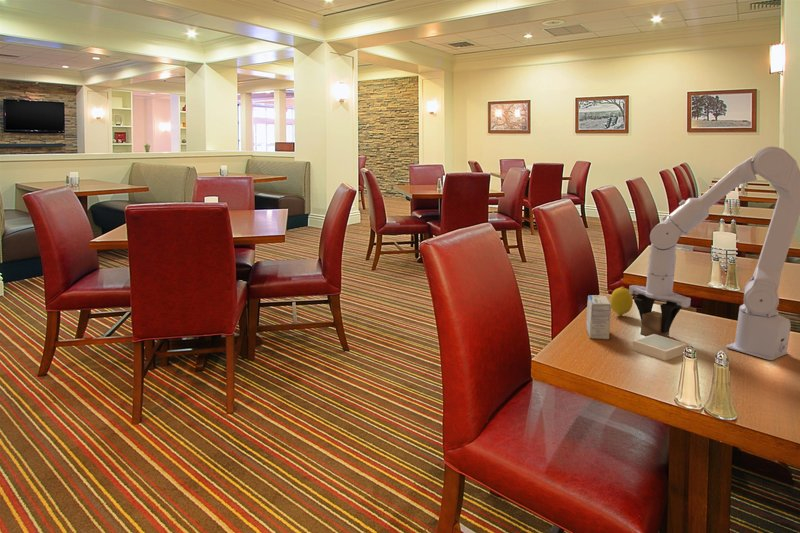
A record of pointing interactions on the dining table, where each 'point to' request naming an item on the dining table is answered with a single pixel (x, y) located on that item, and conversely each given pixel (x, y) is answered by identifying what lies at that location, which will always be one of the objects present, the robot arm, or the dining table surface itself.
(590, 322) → the medicine box
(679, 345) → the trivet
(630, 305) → the lemon
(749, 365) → the dining table surface
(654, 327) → the walnut block
